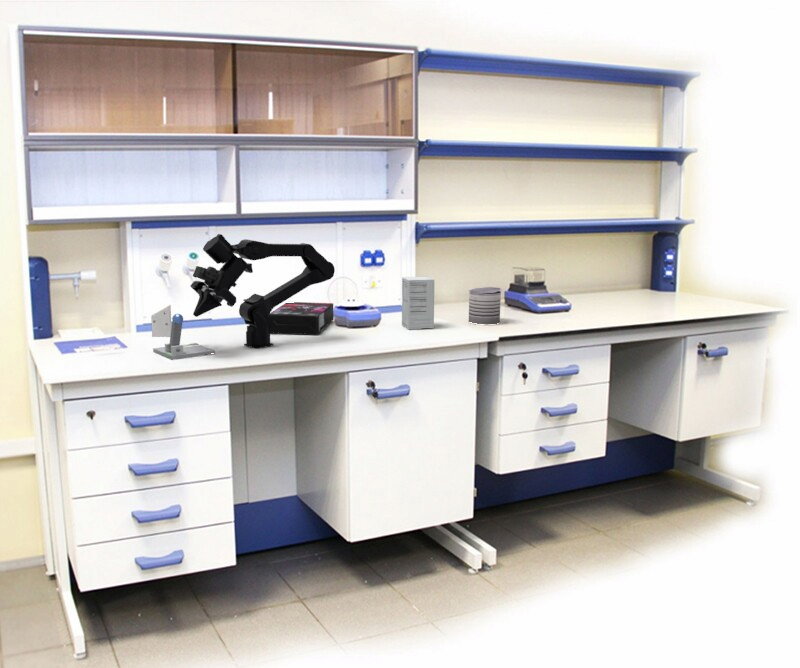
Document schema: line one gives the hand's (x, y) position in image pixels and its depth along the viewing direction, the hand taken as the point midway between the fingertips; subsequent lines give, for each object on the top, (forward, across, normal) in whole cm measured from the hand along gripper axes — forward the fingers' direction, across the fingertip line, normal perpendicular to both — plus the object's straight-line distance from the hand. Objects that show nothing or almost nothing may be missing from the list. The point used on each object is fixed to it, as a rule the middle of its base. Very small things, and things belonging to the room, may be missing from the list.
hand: (194, 315), depth 241 cm
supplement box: (-48, +4, +64) cm, 80 cm away
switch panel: (+9, -3, +6) cm, 12 cm away
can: (-66, +11, +82) cm, 106 cm away
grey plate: (+6, -32, +10) cm, 34 cm away
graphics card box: (-20, -8, +32) cm, 39 cm away
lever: (+11, 0, +1) cm, 11 cm away
